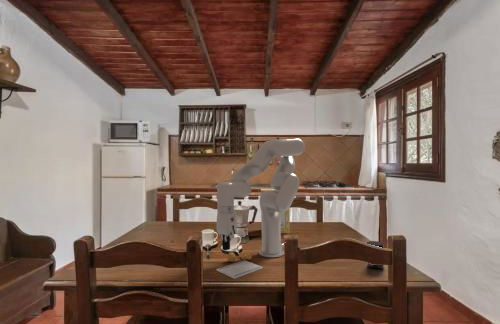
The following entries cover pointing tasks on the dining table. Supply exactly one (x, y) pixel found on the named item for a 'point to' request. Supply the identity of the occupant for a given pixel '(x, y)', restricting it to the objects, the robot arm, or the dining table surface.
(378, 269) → the supplement container
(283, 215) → the pasta box
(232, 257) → the figurine
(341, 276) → the dining table surface
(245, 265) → the mat
